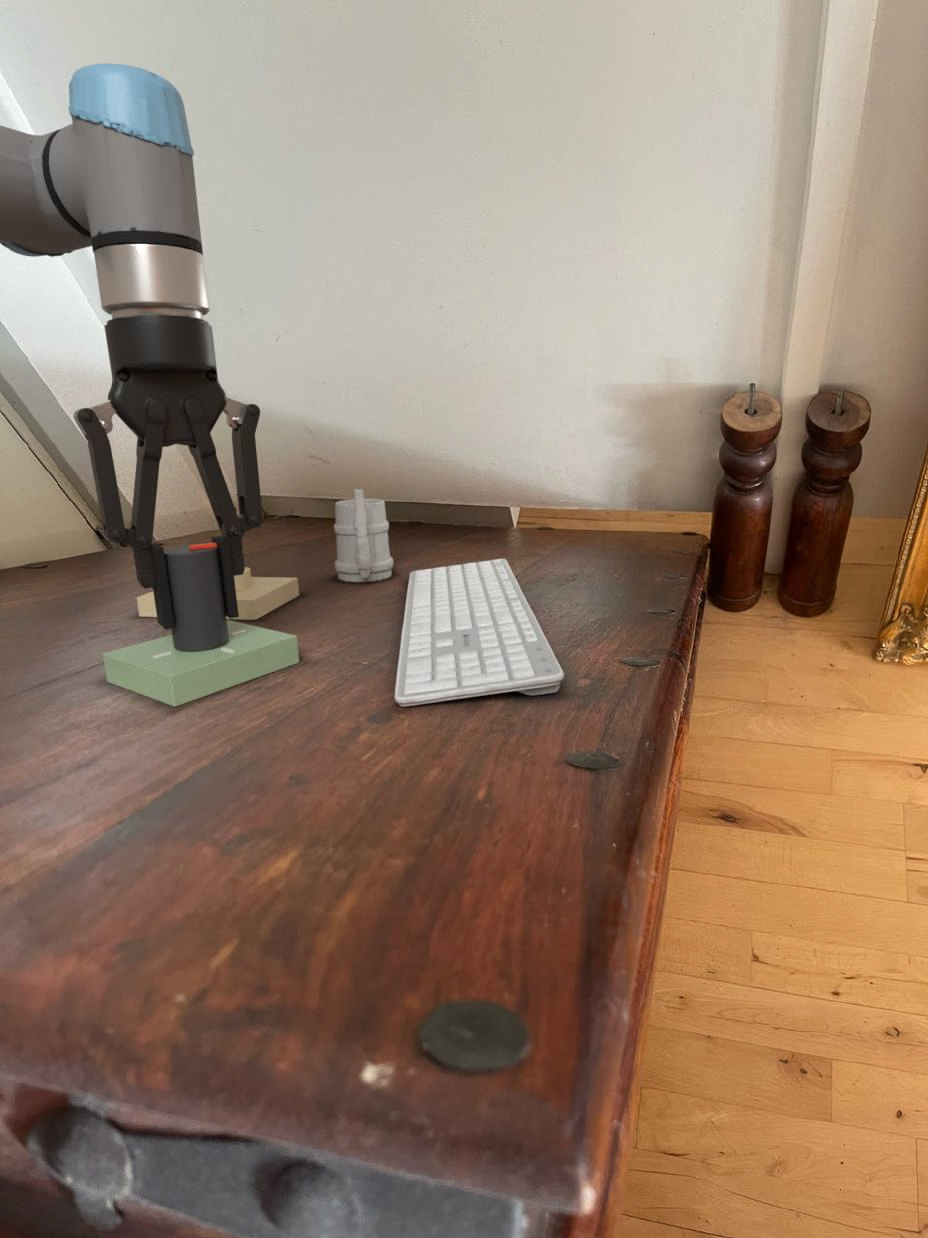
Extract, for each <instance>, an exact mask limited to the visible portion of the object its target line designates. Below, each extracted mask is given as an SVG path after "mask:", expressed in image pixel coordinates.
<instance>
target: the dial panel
mask: <svg viewBox="0 0 928 1238" xmlns="http://www.w3.org/2000/svg"><path fill="white" fill-rule="evenodd" d="M227 627H228V635H229V641H228V643H226V644H225V645H223V646H220V647H217V648H214V649H209V650H203V651H180V650H177V649H175V648H174V644H173V638H172V634H170V635H169V634H168V635H166V636H162V637H159V638H154V639H150V640H147V641H143V642H140V643H137V644H133V645H129V646H126V647H122V648H117V649H114V650H110V651H107V652H104V653H102V659H103V665H104V671H105V677H106V682H107V683H108V684H112V685H114V686H117V687H120V688H123V689H125V690H127V691H130V692H133V693H136V694H138V695H141V696H145V697H147V698H150V699H152V700H155V701H157V702H161V703H163V704H166V705H169V706H171V707H173V708H175V707H178V706H181V705H184V704H187V703H190V702H192V701H195V700H198V699H202V698H204V697H207V696H210V695H212V694H215V693H218V692H221V691H224V690H227V689H229V688H232V687H235V686H238V685H241V684H244V683H246V682H249V681H252V680H255V679H257V678H261V677H263V676H266V675H268V674H272V673H274V672H277V671H280V670H283V669H285V668H288V667H291V666H294V665H297V664H299V663H300V656H299V644H298V637H297V635H296V634H291V633H287V632H283V631H279V630H273V629H269V628H265V627H261V626H257V625H251V624H247V623H243V622H239V621H235V620H231V619H227Z"/></svg>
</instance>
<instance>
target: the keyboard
mask: <svg viewBox="0 0 928 1238" xmlns="http://www.w3.org/2000/svg"><path fill="white" fill-rule="evenodd" d="M406 591H407V592H406V598H405V606H404V616H403V622H402V629H401V635H400V644H399V645H400V646H399V655H398V662H397V670H396V678H395V686H394V688H395V689H394V696H393V698H394V701H395V702H396V703H397V704H398V705H399V707H403V708H404V707H405V708H406V707H413V706H414V707H415V706H420V705H427V704H433V703H434V704H435V703H440V702H447V701H448V702H449V701H455V700H460V699H461V700H462V699H469V698H475V697H482V696H490V695H497V694H503V693H504V694H505V693H511V692H512V693H513V692H518V693H521V694H523V695H527V696H539V695H545V694H552V693H553V694H554V693H557V692H558V691H559V689H560V685H561V683H562V680H563V679H564V678H565V673H564V671H563V669H562V666H561V665H560V662H559V661H558V659H557V657H556V656H555V652H554V651H553V650H552V647H551V646H550V643H549V642H548V640H547V637H546V636H545V633H544V631H543V629H542V627H541V626H540V623H539V621H538V619H537V618H536V615H535V614H534V611H533V609H532V608H531V606H530V604H529V603H528V600H527V599H526V597H525V594H524V592H523V590H522V588H521V586H520V584H519V583H518V580H517V578H516V577H515V575H514V572H513V571H512V568H511V566H510V564H509V563H508V561H507V558H497V559H491V560H484V561H483V560H481V561H477V562H468V563H462V564H453V565H448V566H439V567H434V568H426V569H425V568H424V569H418V570H413V571H411V572H410V573H409V577H408V585H407V590H406Z"/></svg>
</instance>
